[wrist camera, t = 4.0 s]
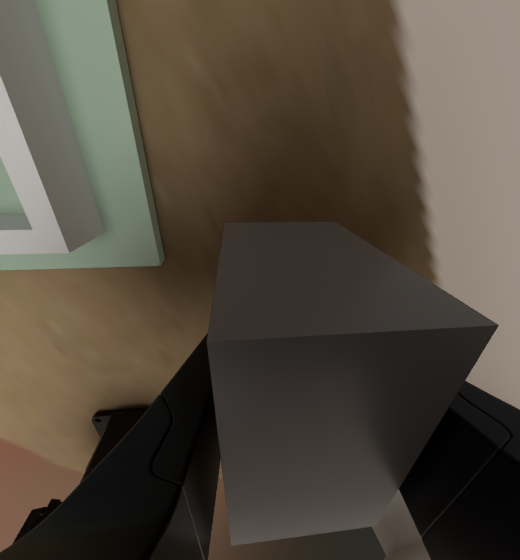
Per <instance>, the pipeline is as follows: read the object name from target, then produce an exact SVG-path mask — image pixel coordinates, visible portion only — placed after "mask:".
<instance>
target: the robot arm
mask: <svg viewBox="0 0 520 560" xmlns="http://www.w3.org/2000/svg"><path fill="white" fill-rule="evenodd" d="M207 337H208V333H207V335H206V336H205V337H204V338H203V340H202V341H201V342H200V343H199V345H198V346H197V347H196V349H195V350H194V351H193V352H192V354H191V355H190V356H189V358H188V359H187V360H186V361H185V363H184V364H183V365H182V366H181V368H180V369H179V370H178V372H177V373H176V374H175V375H174V377H173V378H172V379H171V381H170V382H169V383H168V384H167V386H166V387H165V388H164V389H163V391H162V392H161V395H159V396H158V397H157V398H156V399H155V401H154V402H153V403H152V405H151V406H150V407H149V408H145V409H133V410H120V411H108V412H98V413H95V414H94V416H93V418H92V422H93V424H94V426H95V428H96V430H97V432H98V434H99V436H100V440H99V442H98V445H97V447H96V449H95V451H94V453H93V455H92V457H91V459H90V461H89V463H88V466H87V468H86V471H85V473H84V476H83V478H82V480H81V482H80V484H79V485H78V486H77V487H76V489H75V490H74V491H73V492H72V493H71V494H70V495H69V496H68V497H67V498H66V499H65V500H64V501H63V502H60V501H61V500H58V499H51V501H50V503H49V504H48V507H43V508H38V509H34V510H32V511H31V513H30V514H29V516H28V518H27V520H26V521H25V523H24V525H23V526H22V528H21V530H20V532H19V533H18V535H17V537H16V539H15V540H14V542H13V544H12V545H11V546H9V547H8V548H6V549H5V550H3V551H2V552H0V560H208V555H209V548H210V539H211V530H212V523H213V515H214V507H215V499H216V491H217V483H218V475H219V467H220V459H221V456H220V447H219V439H218V431H217V422H216V414H215V406H214V398H213V389H212V381H211V373H210V365H209V356H208V348H207ZM399 491H400V493H401V495H402V497H403V499H404V502H405V504H406V506H407V508H408V510H409V513H410V515H411V517H412V519H413V521H414V523H415V526H416V528H417V530H418V532H419V534H420V536H421V537H422V541H423V544H424V546H425V548H426V550H427V552H428V554H429V557H430V559H431V560H520V410H519V409H517V408H515V407H514V406H512V405H510V404H508V403H506V402H504V401H502V400H500V399H498V398H496V397H494V396H492V395H490V394H488V393H487V392H485V391H483V390H481V389H479V388H477V387H475V386H474V385H472V384H470V383H468V382H467V381H464V383H463V385H462V386H461V388H460V389H459V391H458V393H457V394H456V396H455V398H454V399H453V401H452V403H451V404H450V406H449V407H448V409H447V411H446V412H445V414H444V416H443V417H442V419H441V421H440V422H439V424H438V425H437V427H436V429H435V430H434V432H433V434H432V435H431V437H430V439H429V440H428V442H427V443H426V445H425V447H424V448H423V450H422V452H421V453H420V455H419V457H418V458H417V460H416V462H415V463H414V465H413V466H412V468H411V470H410V471H409V473H408V475H407V476H406V478H405V480H404V481H403V483H402V484H401V486H400V488H399Z"/></svg>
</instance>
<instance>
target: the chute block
mask: <svg viewBox="0 0 520 560" xmlns="http://www.w3.org/2000/svg"><path fill="white" fill-rule="evenodd" d="M497 327H498V325H497V324H496V323H494V322H493V321H491V320H490V319H488V318H487V317H485V316H483V315H482V314H480V313H478V312H477V311H475V310H474V309H472V308H471V307H469V306H468V305H466V304H464V303H463V302H461V301H460V300H458V299H457V298H455V297H453V296H452V295H450V294H449V293H447V292H446V291H444V290H442V289H441V288H439V287H438V286H436V285H435V284H433V283H431V282H430V281H428V280H427V279H425V278H423V277H422V276H420V275H419V274H417V273H416V272H414V271H412V270H411V269H409V268H408V267H406V266H405V265H403V264H401V263H400V262H398V261H397V260H395V259H394V258H392V257H390V256H389V255H387V254H386V253H384V252H383V251H381V250H379V249H378V248H376V247H375V246H373V245H371V244H370V243H368V242H367V241H365V240H364V239H362V238H360V237H359V236H357V235H356V234H354V233H353V232H351V231H349V230H348V229H346V228H345V227H343V226H342V225H340V224H338V223H337V222H335V221H319V222H225V223H224V229H223V236H222V243H221V249H220V256H219V263H218V270H217V276H216V283H215V290H214V297H213V303H212V310H211V317H210V323H209V330H208V337H207V348H208V356H209V365H210V373H211V381H212V389H213V398H214V406H215V414H216V422H217V431H218V439H219V447H220V456H221V464H222V472H223V480H224V489H225V497H226V505H227V513H228V521H229V530H230V538H231V545H232V546H233V545H240V544H247V543H255V542H262V541H269V540H276V539H284V538H291V537H299V536H306V535H313V534H320V533H328V532H335V531H342V530H350V529H357V528H364V527H371V526H376V525H377V524H378V522H379V521H380V519H381V517H382V516H383V514H384V512H385V511H386V509H387V507H388V506H389V504H390V502H391V501H392V499H393V498H394V496H395V494H396V493H397V491H398V489H399V488H400V486H401V484H402V483H403V481H404V480H405V478H406V476H407V475H408V473H409V471H410V470H411V468H412V466H413V465H414V463H415V462H416V460H417V458H418V457H419V455H420V453H421V452H422V450H423V448H424V447H425V445H426V443H427V442H428V440H429V439H430V437H431V435H432V434H433V432H434V430H435V429H436V427H437V425H438V424H439V422H440V421H441V419H442V417H443V416H444V414H445V412H446V411H447V409H448V407H449V406H450V404H451V403H452V401H453V399H454V398H455V396H456V394H457V393H458V391H459V389H460V388H461V386H462V385H463V383H464V381H465V380H466V378H467V376H468V375H469V373H470V371H471V369H472V368H473V366H474V365H475V363H476V362H477V360H478V358H479V357H480V355H481V353H482V351H483V350H484V348H485V347H486V345H487V344H488V342H489V340H490V339H491V337H492V335H493V334H494V332H495V330H496V329H497Z"/></svg>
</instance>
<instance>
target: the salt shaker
mask: <svg viewBox="0 0 520 560" xmlns="http://www.w3.org/2000/svg"><path fill="white" fill-rule="evenodd" d="M372 528H373V530H374V532H375V534H376V536H377V538H378V540H379V542H380V544H381V546H382V548H383V550H384V552H385V554H386V557H385V559H384V560H431V559H430V557H429V554H428V552H427V550H426V548H425V546H424V544H423V541H422V537H421V536H420V534H419V532H418V530H417V528H416V526H415V523H414V521H413V519H412V517H411V515H410V513H409V510H408V508H407V506H406V504H405V502H404V499H403V497H402V495H401V493H400V491H399V489H398V491H397V493H396V494H395V496H394V498H393V499H392V501H391V502H390V504H389V506H388V507H387V509H386V511H385V512H384V514H383V516H382V517H381V519H380V521H379V522H378V524H377V525H376V526H372Z"/></svg>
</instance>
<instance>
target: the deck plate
mask: <svg viewBox="0 0 520 560" xmlns="http://www.w3.org/2000/svg"><path fill="white" fill-rule="evenodd" d="M164 260H165V257H164V252H163V247H162V242H161V236H160V231H159V226H158V220H157V215H156V210H155V205H154V199H153V194H152V189H151V184H150V178H149V173H148V168H147V163H146V157H145V152H144V147H143V141H142V136H141V131H140V126H139V120H138V115H137V110H136V105H135V99H134V94H133V89H132V83H131V78H130V73H129V68H128V62H127V57H126V52H125V47H124V41H123V36H122V31H121V25H120V20H119V15H118V10H117V4H116V0H0V270H27V269H63V268H99V267H136V266H161V264H162V263H163V261H164Z"/></svg>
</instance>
